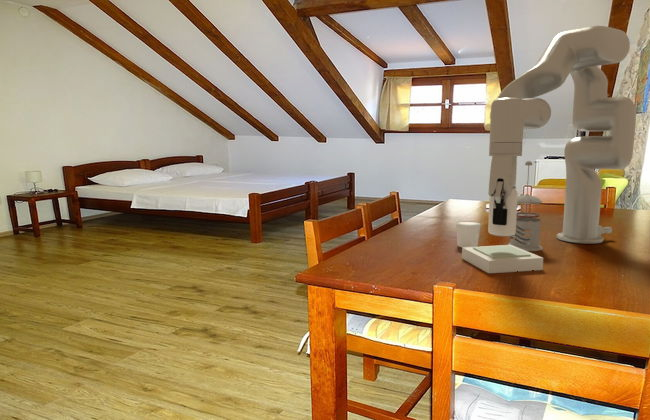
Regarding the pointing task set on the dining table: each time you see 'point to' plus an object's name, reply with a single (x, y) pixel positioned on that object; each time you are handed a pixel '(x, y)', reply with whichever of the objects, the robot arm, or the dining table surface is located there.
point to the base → (502, 258)
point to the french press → (527, 224)
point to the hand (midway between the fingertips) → (502, 221)
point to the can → (511, 216)
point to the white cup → (467, 233)
